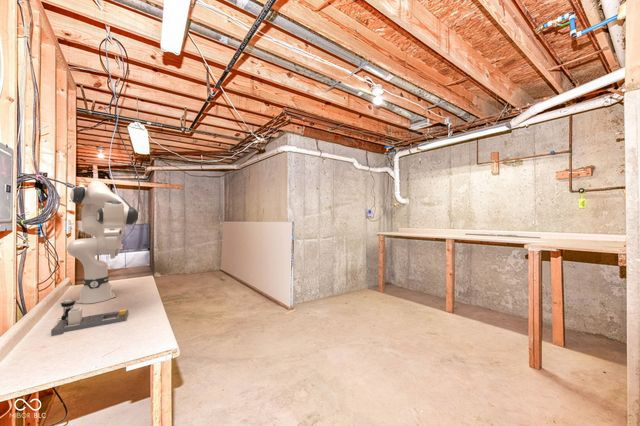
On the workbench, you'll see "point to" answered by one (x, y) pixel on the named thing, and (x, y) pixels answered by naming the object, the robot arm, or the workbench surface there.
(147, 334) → the workbench surface
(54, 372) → the workbench surface
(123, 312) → the plate
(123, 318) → the panel
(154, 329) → the workbench surface
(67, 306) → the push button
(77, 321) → the plug
